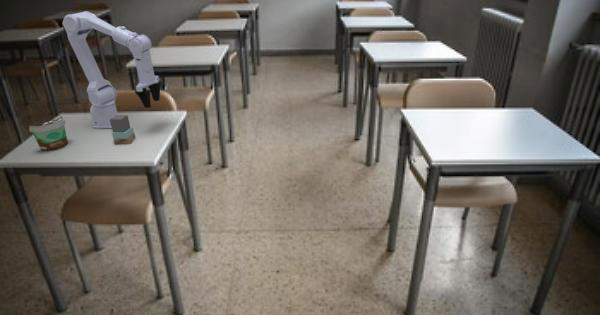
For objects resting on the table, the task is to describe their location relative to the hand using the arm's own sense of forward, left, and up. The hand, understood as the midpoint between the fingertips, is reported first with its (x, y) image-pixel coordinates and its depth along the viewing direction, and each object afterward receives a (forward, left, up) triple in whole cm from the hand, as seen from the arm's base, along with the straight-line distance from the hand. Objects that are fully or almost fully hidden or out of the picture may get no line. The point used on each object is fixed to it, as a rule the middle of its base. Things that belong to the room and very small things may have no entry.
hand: (152, 103), depth 162 cm
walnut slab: (-7, -12, -11) cm, 18 cm away
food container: (-30, -19, -11) cm, 37 cm away
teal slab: (-7, -12, -8) cm, 16 cm away
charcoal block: (-7, -12, -6) cm, 15 cm away
